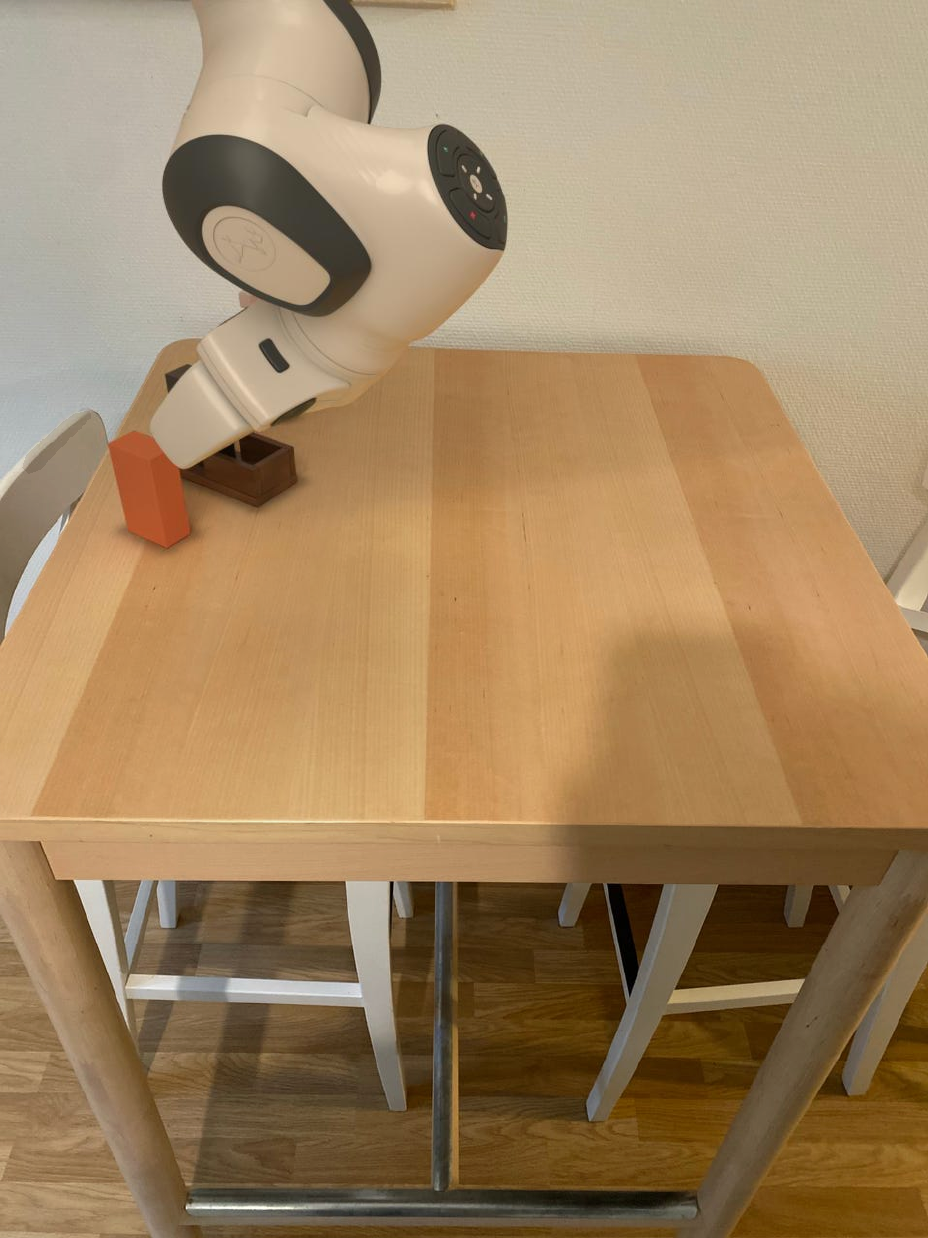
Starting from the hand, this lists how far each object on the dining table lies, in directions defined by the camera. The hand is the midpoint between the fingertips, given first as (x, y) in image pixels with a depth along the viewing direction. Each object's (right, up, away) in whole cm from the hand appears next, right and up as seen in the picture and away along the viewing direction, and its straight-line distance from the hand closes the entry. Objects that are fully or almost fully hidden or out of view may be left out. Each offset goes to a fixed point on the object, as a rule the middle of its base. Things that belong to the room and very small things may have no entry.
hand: (232, 429), depth 70 cm
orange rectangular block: (-10, -7, +13) cm, 18 cm away
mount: (-5, 0, +21) cm, 22 cm away
